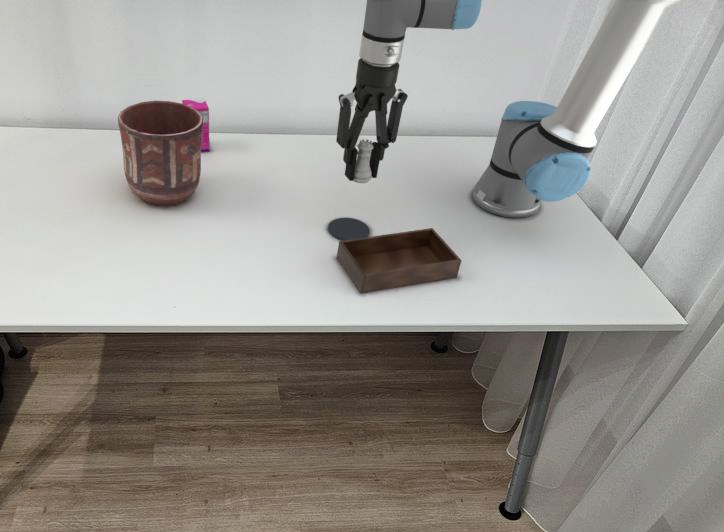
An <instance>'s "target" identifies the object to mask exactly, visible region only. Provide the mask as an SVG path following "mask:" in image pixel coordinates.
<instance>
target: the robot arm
mask: <svg viewBox="0 0 724 532" xmlns="http://www.w3.org/2000/svg"><path fill="white" fill-rule="evenodd" d="M682 1H683V0H614V2H613V3H612V5H611V7H610V9H609V10H608V12H607V15H606V16H605V18H604V19H603V22H602V24H601V25H600V28H599V29H598V31H597V32H596V35H595V36H594V38H593V40H592V42H591V44H590V46H589V47H588V49H587V51H586V53H585V55H584V56H583V58H582V60H581V62H580V64H579V66H578V67H577V70H576V71H575V73H574V75H573V77H572V78H571V80H570V83H569V84H568V86H567V88H566V90H565V91H564V93H563V95H562V97H561V99H560V100H559V103H558V105H557V106H555V105H552V104H550V103H547V102H540V101H533V100H519V101H514V102H511V103H509V104H508V105H506V107H505V110H504V112H503V115H502V117H501V121H500V123H499V124H500V125H499V128H498V130H497V131H498V132H497V135H496V139H495V143H494V145H493V150H492V154H491V157H490V161H489V164H488V165H487V167H486V169H485V171H484V172H483V173H482V175H481V176H480V178H479V179H478V181H477V182H476V183H475V185H474V188H473V191H472V200H473V202H474V203H475V204H476V205H477V206H478V207H480V209H483V210H484V211H486V212H488V213H490V214H493V215H496V216H500V217H505V218H510V219H511V218H513V219H521V218H527V217H531V216H533V215H535V214H536V213H537V212H538V211H539V209H540V206H541V203H542V201H543V202H551V203H552V202H561V201H564V200H565V199H566V198H571V197H573V196H574V195H576V194H578V193H579V192H580V191H581V190H582V189H583V188H584V187H585V185H586V184H587V183H588V181H589V179H590V177H591V172H592V170H591V169H592V168H591V164H590V161H589V160H588V159H589V158H590V156H591V154H592V152H593V151H594V149H595V148H596V145H597V143H598V141H597V137H596V134H595V132H596V130H597V129H598V127H599V125H600V123H601V121H602V120H603V118H604V117H605V115H606V114H607V112H608V110H609V108H610V106H611V105H612V103H613V101H614V100H615V98H616V96H617V94H618V93H619V91H620V90H621V88H622V86H623V84H624V82H625V81H626V79H627V78H628V76H629V74H630V73H631V71H632V69H633V67H634V66H635V64H636V62H637V61H638V59H639V57H640V56H641V54H642V53H643V50H644V49H645V47H646V46H647V44H648V42H649V40H650V39H651V37H652V35H653V33H654V32H655V30H656V28H657V27H658V25H659V23H660V22H661V20H662V19H663V16H664V15H665V14H666V12H667V10H668V8H669V7H671V6H673V5H676V4H677V3H679V2H682ZM365 4H366V5H365V12H364V21H363V28H362V33H361V41H360V45H359V54H358V56H359V59H358V61H357V68H356V73H355V74H356V75H355V85H354V87H353V88H352V91H351V92H349V93H347V94H343V93H341V94H339V95H338V103H339V115H338V122H337V123H338V124H337V130H336V131H337V132H336V139H335V141H336V143H337V144H338V145H339V147H340V148H341V149H344V151H343V156H342V160H343V162H344V164H345V168H344V176H345V177H346V178H347V180H348V181H349V182H354V181H353V179H354V173H355V166H356V161H357V157H358V151H359V149H358V148H356V147H357V144H358V141H359V137H360V135H361V132H362V130H363V126H364V124H365V122H366V119H367V118H368V117H369V115H370V113H371V112H374V115H375V116H374V117H375V136H376V141H372V145H373V147H374V148H373V149H372V150H371V152H370V153H371V156H370V160H369V166H370V170H371V172H372V175H371V178H372V179H377V178H378V177H377V176H378V172H379V166H380V161H383V160H384V157H385V152H386V149H388V148H389V147H390V144H394V143H396V141H397V137H398V132H399V127H400V123H401V118H402V113H403V108H404V105H405V104H406V101H407V99H408V97H409V96H408V93H406V92H405V91H404V90H402V89H401V88H398V89H397V88H396V83H397V82H398V76H399V72H400V71H399V70H400V64H399V62H400V61H401V58H402V53H403V47H404V42H405V37H406V31H407V28H413V29H435V30H437V29H438V30H451V31H454V30H467V29H470V28H472V27H473V26H474V25H475V24H476V22H477V21H478V20H479V16H480V13H481V9H482V0H366V3H365ZM354 100H355V102H356V104H355V107H354V114H353V116H352V107H353V106H354ZM390 101H391V104H390V108H389V113H388V103H390ZM387 115H388V118H387ZM351 116H352V117H351ZM351 118H352V119H351Z"/></svg>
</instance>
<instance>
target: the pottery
mask: <svg viewBox="0 0 724 532" xmlns="http://www.w3.org/2000/svg"><path fill="white" fill-rule="evenodd" d="M117 125H118V128H119V136H120V140H121V148H122V155H123V156H122V161H123V170H124V171H123V172H124V176H125V179H126V182H127V186H128V187H129V188H130V190H131V191H132V193H133V194H134V195H136V196H137V197H138V198H140V199H141V200H142V201H144V202H145V203H147V204H149V205H152V206H159V207H162V206H163V207H169V206H176V205H180V204H182V203H183V202H185V201H186V200H188V199H189V198H190V197H191V196H192V195H193V194H194V193H195V192H196V190H197V188H198V186H199V183H200V178H201V172H202V159H201V158H202V154H201V153H202V152H201V137H202V129H203V117H202V116H201V114H200V112H198V111H197V110H195V109H194V108H192V107H190V106H187V105H184V104H182V102H181V103H180V102H177V101H176V102H175V101H170V100H149V101H141V102H138V103H135V104H131V105H129V106H127V107H125V108H124V109H122V110H121V111H120V112H119V114H118V116H117Z"/></svg>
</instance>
